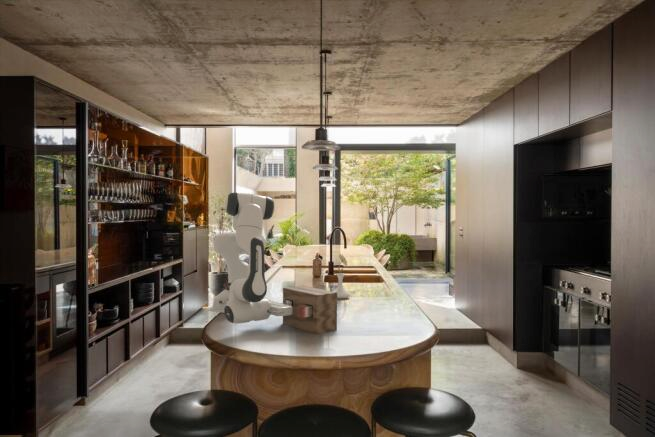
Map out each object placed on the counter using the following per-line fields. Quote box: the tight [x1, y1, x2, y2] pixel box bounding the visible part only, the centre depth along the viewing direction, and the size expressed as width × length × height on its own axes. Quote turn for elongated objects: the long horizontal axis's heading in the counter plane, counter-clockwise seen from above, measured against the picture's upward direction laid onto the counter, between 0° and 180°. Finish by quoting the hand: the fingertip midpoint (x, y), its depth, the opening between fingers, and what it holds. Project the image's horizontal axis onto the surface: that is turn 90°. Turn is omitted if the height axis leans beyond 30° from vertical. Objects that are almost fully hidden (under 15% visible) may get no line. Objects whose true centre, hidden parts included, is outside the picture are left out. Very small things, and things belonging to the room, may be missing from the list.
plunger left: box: [286, 300, 293, 307], centre depth 223 cm, size 8×4×4 cm, turn 130°
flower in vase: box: [332, 253, 351, 300], centre depth 289 cm, size 13×11×25 cm
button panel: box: [282, 285, 338, 335], centre depth 219 cm, size 11×24×16 cm, turn 40°
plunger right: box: [298, 305, 313, 318], centre depth 210 cm, size 8×4×4 cm, turn 130°
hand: (288, 305), depth 221 cm, fingers closed, pressing on plunger left
